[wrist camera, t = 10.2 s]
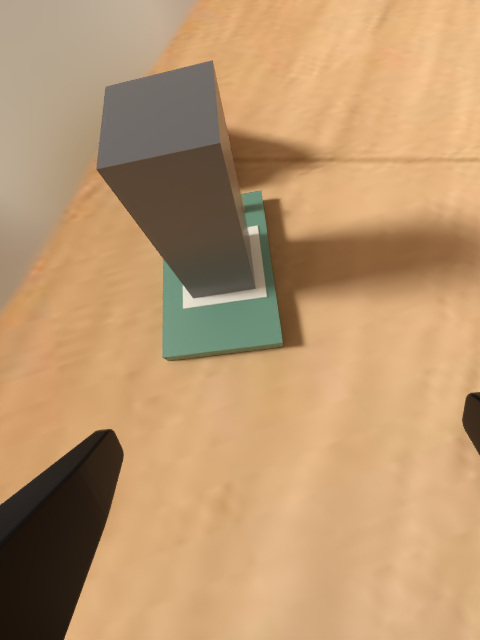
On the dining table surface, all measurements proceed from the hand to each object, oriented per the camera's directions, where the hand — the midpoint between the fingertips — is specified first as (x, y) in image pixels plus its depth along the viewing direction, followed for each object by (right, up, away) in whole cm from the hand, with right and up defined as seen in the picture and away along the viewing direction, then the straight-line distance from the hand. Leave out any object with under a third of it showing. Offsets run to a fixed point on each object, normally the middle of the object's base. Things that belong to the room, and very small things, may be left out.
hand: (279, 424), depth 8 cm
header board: (-3, +7, +17) cm, 19 cm away
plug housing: (-2, +7, +16) cm, 18 cm away
